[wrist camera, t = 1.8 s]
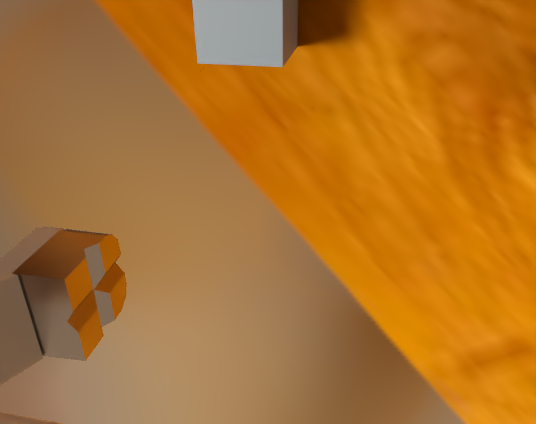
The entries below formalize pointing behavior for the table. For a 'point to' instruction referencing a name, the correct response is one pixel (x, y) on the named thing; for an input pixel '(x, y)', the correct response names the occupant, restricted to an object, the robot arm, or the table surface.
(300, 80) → the table surface
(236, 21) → the block
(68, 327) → the robot arm
